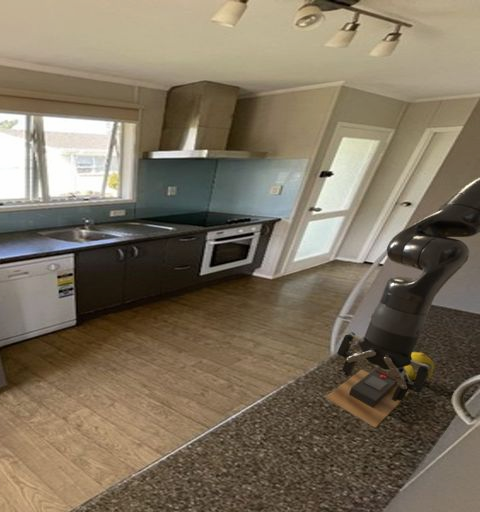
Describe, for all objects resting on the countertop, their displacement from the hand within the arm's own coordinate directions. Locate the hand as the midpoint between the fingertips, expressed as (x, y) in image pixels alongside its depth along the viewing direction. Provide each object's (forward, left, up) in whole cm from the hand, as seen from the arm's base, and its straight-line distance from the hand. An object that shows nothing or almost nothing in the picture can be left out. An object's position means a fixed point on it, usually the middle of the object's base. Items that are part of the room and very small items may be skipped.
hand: (369, 386), depth 66 cm
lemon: (-12, -12, -3) cm, 18 cm away
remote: (-2, -2, -2) cm, 4 cm away
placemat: (0, 0, -3) cm, 3 cm away
